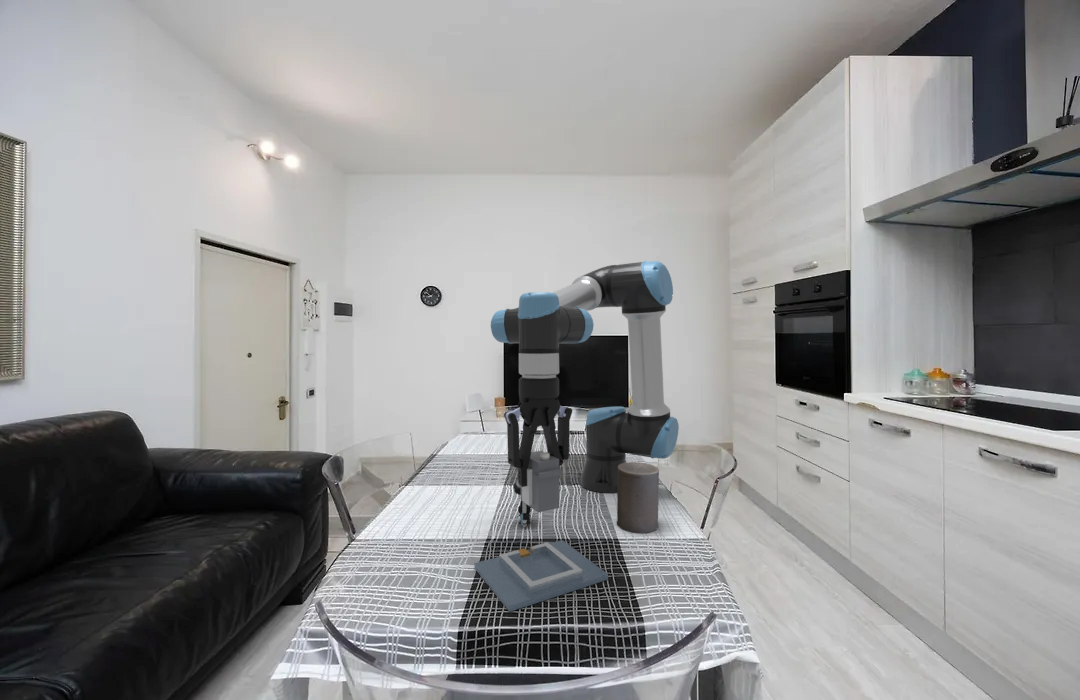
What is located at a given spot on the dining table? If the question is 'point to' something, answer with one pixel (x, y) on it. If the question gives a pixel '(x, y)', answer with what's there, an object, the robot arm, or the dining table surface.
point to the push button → (522, 507)
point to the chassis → (538, 574)
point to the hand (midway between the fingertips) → (539, 500)
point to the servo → (544, 481)
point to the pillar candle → (637, 497)
